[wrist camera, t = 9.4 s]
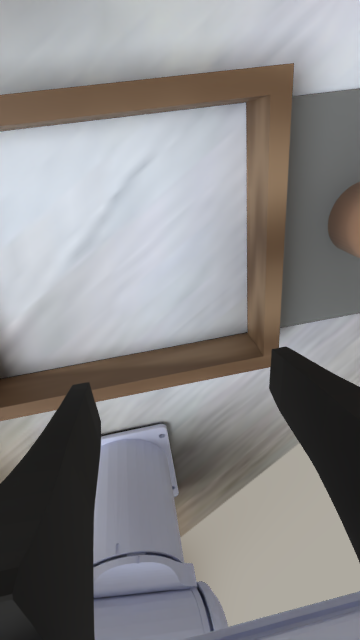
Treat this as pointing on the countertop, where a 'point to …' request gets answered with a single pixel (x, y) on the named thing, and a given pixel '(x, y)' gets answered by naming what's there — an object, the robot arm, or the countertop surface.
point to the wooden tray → (262, 227)
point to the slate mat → (319, 208)
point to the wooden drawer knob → (346, 221)
